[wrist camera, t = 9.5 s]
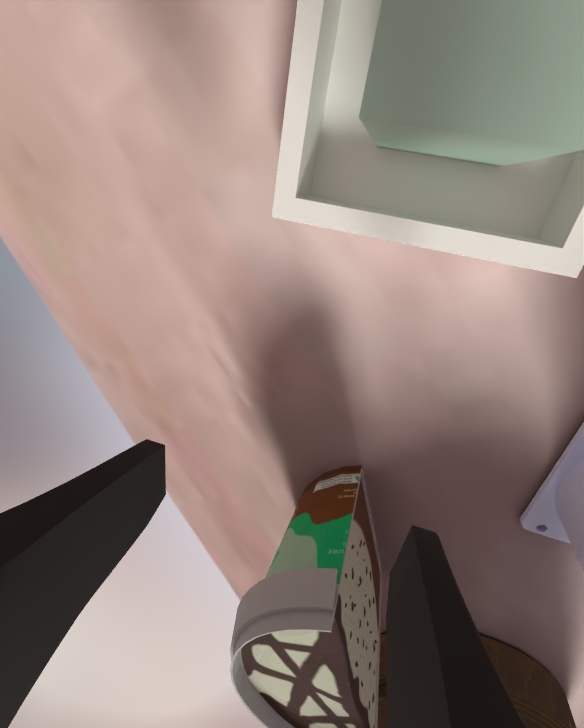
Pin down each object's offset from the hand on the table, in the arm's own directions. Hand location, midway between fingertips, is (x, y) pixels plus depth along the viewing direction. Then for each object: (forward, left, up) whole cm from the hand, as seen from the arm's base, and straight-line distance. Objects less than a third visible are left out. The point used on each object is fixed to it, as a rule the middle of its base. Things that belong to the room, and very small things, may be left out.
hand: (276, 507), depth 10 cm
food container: (-2, +12, -11) cm, 16 cm away
